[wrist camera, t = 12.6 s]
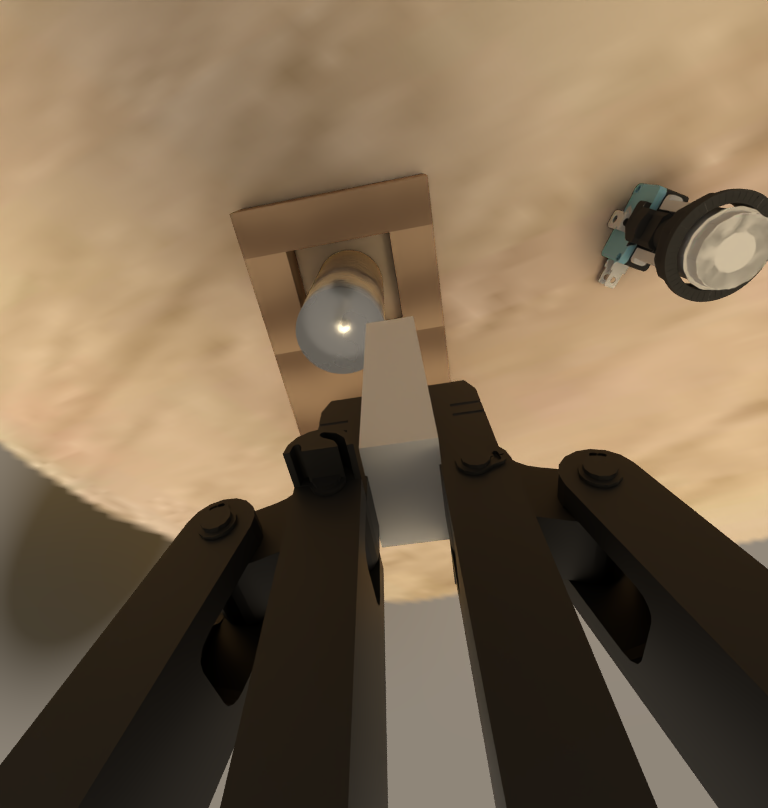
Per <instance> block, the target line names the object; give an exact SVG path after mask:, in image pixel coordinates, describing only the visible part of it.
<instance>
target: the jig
mask: <svg viewBox="0 0 768 808" xmlns="http://www.w3.org/2000/svg"><path fill="white" fill-rule="evenodd" d="M230 217H231V220H232V223H233V226H234V229H235V233H236V236H237V239H238V242H239V245H240V248H241V251H242V254H243V257H244V261H245V264H246V267H247V270H248V273H249V276H250V279H251V282H252V285H253V289H254V292H255V295H256V298H257V301H258V304H259V307H260V310H261V313H262V317H263V320H264V323H265V326H266V329H267V332H268V335H269V338H270V341H271V345H272V348H273V351H274V354H275V357H276V360H277V363H278V366H279V369H280V373H281V376H282V379H283V382H284V385H285V388H286V391H287V394H288V397H289V401H290V404H291V407H292V410H293V413H294V416H295V419H296V422H297V425H298V429H299V432H300V435H301V436H302V435H304V434H306V433H308V432H311V431H315V430H318V427H319V422H320V417H321V412H322V411H323V410H324V409H325V408H326V407H327V405H328V404H329V403H330V402H331V401H335V400H342V399H348V398H355V397H362V385H363V369H362V370H360V371H357V372H354V373H349V374H336V373H331V372H327V371H325V370H322V369H320V368H318V367H317V366H315V365H314V364H313V363H311V362H310V361H309V360H308V359H307V358H306V357H305V355H304V354H303V352H302V351H301V349H300V347H299V345H298V342H297V338H296V321H297V317H298V315H299V312H300V310H301V308H302V306H303V304H304V302H305V300H306V294H305V290H304V286H303V283H302V279H301V275H300V271H299V267H298V264H297V260H296V256H295V252H294V250H298V249H303V248H309V247H314V246H319V245H325V244H330V243H335V242H340V241H346V240H351V239H356V238H362V237H367V236H372V235H378V234H383V233H388V232H389V234H390V240H391V247H392V253H393V259H394V265H395V272H396V278H397V284H398V291H399V297H400V303H401V309H402V316H403V318H404V317H410V316H413V318H414V323H415V327H416V332H417V337H418V342H419V347H420V352H421V356H422V361H423V366H424V371H425V376H426V381H427V386H428V385H434V384H441V383H448V382H451V381H450V372H449V364H448V355H447V346H446V337H445V328H444V319H443V310H442V301H441V292H440V283H439V275H438V266H437V257H436V248H435V239H434V230H433V221H432V212H431V203H430V194H429V186H428V177H427V175H425V174H419V175H414V176H408V177H403V178H398V179H393V180H388V181H383V182H378V183H373V184H368V185H363V186H358V187H353V188H348V189H342V190H337V191H332V192H327V193H322V194H317V195H312V196H307V197H302V198H297V199H292V200H287V201H281V202H276V203H271V204H266V205H261V206H256V207H251V208H246V209H241V210H238V211H236V212H233V213H231V214H230Z"/></svg>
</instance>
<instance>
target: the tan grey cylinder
mask: <svg viewBox="0 0 768 808" xmlns="http://www.w3.org/2000/svg"><path fill="white" fill-rule="evenodd" d="M379 321H385V312H384V294H383V279H382V274H381V272H380V269H379V267H378V266H377V264H376V263H375V262H374V261H373V260H372V259H371V258H370V257H369V256H367V255H366V254H364V253H362V252H359V251H354V250H345V251H340V252H337V253H335V254H333V255H332V256H330V257H329V258H328V259H327V260H326V261H325V262H324V264H323V265H322V267H321V269H320V271H319V273H318V275H317V277H316V279H315V281H314V283H313V285H312V288H311V290H310V292H309V294H308V296H307V298H306V300H305V302H304V304H303V306H302V308H301V310H300V312H299V315H298V317H297V321H296V338H297V342H298V345H299V347H300V349H301V351H302V352H303V354H304V355H305V357H306V358H307V359H308V360H309V361H310V362H311V363H313V364H314V365H315V366H317V367H318V368H320V369H322V370H325V371H327V372H331V373H336V374H349V373H354V372H357V371H360V370H362V369H363V368H364V351H365V333H366V323H372V322H379Z"/></svg>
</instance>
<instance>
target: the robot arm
mask: <svg viewBox="0 0 768 808" xmlns="http://www.w3.org/2000/svg"><path fill="white" fill-rule="evenodd" d="M283 456H284V459H285V462H286V464H287V467H288V470H289V473H290V476H291V479H292V482H293V484H294V487H295V488H294V492H293V495H291V496H290V497H288V498H287V499H285V500H283V501H281V502H278V503H276V504H273V505H271V506H268V507H265V508H263V509H260V510H257V511H255V510H254V508H253V506H252V505H251V504H250V503H249V502H247V501H246V500H241V499H237V498H235V499H226V500H222V501H219V502H216V503H213V504H210V505H209V506H207V507H206V508H204V509H202V510H201V511H199V512H198V513H197V514H196V515H195V516H194V517H193V518H192V519H191V520H190V521H189V522H188V523H187V524H186V525H185V527H184V528H183V529H182V531H181V532H180V533H179V534H178V536H177V537H176V538H175V540H174V541H173V542H172V544H171V545H170V546H169V548H168V549H167V550H166V551H165V553H164V554H163V555H162V556H161V558H160V559H159V561H158V562H157V563H156V564H155V566H154V567H153V568H152V569H151V571H150V572H149V573H148V575H147V576H146V577H145V578H144V580H143V581H142V582H141V584H140V585H139V586H138V588H137V589H136V590H135V592H134V593H133V594H132V595H131V597H130V598H129V599H128V601H127V602H126V603H125V604H124V606H123V607H122V608H121V609H120V611H119V612H118V613H117V615H116V616H115V617H114V619H113V620H112V621H111V622H110V624H109V625H108V626H107V628H106V629H105V630H104V631H103V633H102V634H101V635H100V637H99V638H98V639H97V641H96V642H95V643H94V645H93V646H92V647H91V648H90V650H89V651H88V652H87V653H86V655H85V656H84V657H83V659H82V660H81V661H80V663H79V664H78V665H77V666H76V668H75V669H74V670H73V672H72V673H71V674H70V676H69V677H68V678H67V679H66V681H65V682H64V683H63V685H62V686H61V687H60V688H59V690H58V691H57V692H56V694H55V695H54V696H53V698H52V699H51V700H50V701H49V703H48V704H47V705H46V707H45V708H44V709H43V711H42V712H41V713H40V714H39V716H38V717H37V718H36V719H35V721H34V722H33V723H32V725H31V726H30V727H29V728H28V730H27V731H26V732H25V734H24V735H23V736H22V738H21V739H20V740H19V742H18V743H17V744H16V745H15V747H14V748H13V749H12V750H11V752H10V753H9V754H8V756H7V757H6V758H5V760H4V761H3V762H2V763H1V765H0V808H208V807H209V805H210V803H211V800H212V798H213V795H214V793H215V791H216V789H217V786H218V784H219V781H220V779H221V777H222V774H223V772H224V770H225V767H226V765H227V763H228V760H229V758H230V755H231V753H232V751H233V755H232V759H231V763H230V767H229V772H228V776H227V780H226V785H225V789H224V793H223V797H222V802H221V806H220V808H388V787H387V734H386V681H385V629H384V628H385V627H384V573H383V565H382V561H381V557H380V552H379V536H380V541H381V545H382V547H389V546H397V545H405V544H414V543H422V542H430V541H438V540H446V539H450V545H451V554H452V562H453V570H454V579H455V584H457V590H458V595H459V601H460V606H461V612H462V618H463V624H464V629H465V635H466V641H467V646H468V651H469V658H470V664H471V669H472V674H473V680H474V686H475V692H476V698H477V703H478V709H479V714H480V720H481V725H482V732H483V737H484V743H485V748H486V754H487V760H488V766H489V771H490V777H491V783H492V788H493V794H494V799H495V805H496V808H657V805H656V803H655V800H654V798H653V795H652V793H651V791H650V788H649V786H648V783H647V781H646V779H645V776H644V774H643V772H642V769H641V767H640V764H639V762H638V759H637V757H636V755H635V752H634V750H633V747H632V745H631V743H630V740H629V738H628V735H627V733H626V731H625V728H624V726H623V724H622V721H621V719H620V716H619V714H618V712H617V709H616V707H615V704H614V702H613V700H612V697H611V695H610V693H609V690H608V688H607V685H606V683H605V681H604V678H603V676H602V673H601V671H600V669H599V666H598V664H597V661H596V659H595V657H594V654H593V652H592V649H591V647H590V645H589V642H588V640H587V638H586V635H585V633H584V631H583V628H582V626H581V623H580V621H579V619H578V616H577V614H576V611H575V609H574V606H575V608H576V609H577V611H578V612H579V614H580V615H581V616H582V618H583V619H584V621H585V622H586V623H587V625H588V626H589V627H590V629H591V630H592V632H593V633H594V634H595V636H596V637H597V639H598V640H599V641H600V643H601V644H602V645H603V647H604V648H605V650H606V651H607V653H608V654H609V655H610V657H611V658H612V659H613V661H614V662H615V664H616V665H617V666H618V668H619V669H620V671H621V672H622V674H623V675H624V676H625V678H626V679H627V680H628V682H629V683H630V685H631V686H632V688H633V689H634V690H635V692H636V693H637V694H638V696H639V697H640V699H641V700H642V702H643V703H644V704H645V706H646V707H647V708H648V710H649V711H650V713H651V714H652V715H653V717H654V718H655V720H656V721H657V723H658V724H659V725H660V727H661V728H662V730H663V731H664V732H665V734H666V735H667V737H668V738H669V739H670V740H671V742H672V743H673V745H674V746H675V748H676V749H677V750H678V752H679V753H680V755H681V756H682V757H683V759H684V760H685V762H686V763H687V764H688V766H689V767H690V769H691V770H692V771H693V773H694V774H695V776H696V777H697V778H698V780H699V781H700V783H701V784H702V785H703V787H704V788H705V790H706V791H707V792H708V794H709V795H710V797H711V798H712V799H713V801H714V802H715V803H716V805H717V806H718V808H768V569H767V568H766V567H765V566H763V565H762V564H761V563H759V562H758V561H757V560H756V559H754V558H753V557H752V556H751V555H749V554H748V553H747V552H746V551H744V550H743V549H742V548H741V547H739V546H738V545H737V544H736V543H734V542H733V541H732V540H731V539H729V538H728V537H727V536H726V535H724V534H723V533H722V532H721V531H719V530H718V529H717V528H716V527H714V526H713V525H712V524H711V523H709V522H708V521H707V520H705V519H704V518H703V517H702V516H700V515H699V514H698V513H697V512H695V511H694V510H693V509H692V508H690V507H689V506H688V505H687V504H685V503H684V502H683V501H682V500H680V499H679V498H678V497H677V496H675V495H674V494H673V493H672V492H670V491H669V490H668V489H667V488H665V487H664V486H663V485H662V484H660V483H659V482H658V481H656V480H655V479H654V478H653V477H651V476H650V475H649V474H648V473H646V472H645V471H644V470H643V469H641V468H640V467H639V466H638V465H636V464H635V463H634V462H632V461H631V460H629V459H627V458H625V457H624V456H622V455H620V454H616V453H613V452H610V451H606V450H595V449H588V450H581V451H576V452H574V453H572V454H570V455H568V456H565V457H564V459H563V460H562V461H561V463H560V464H559V469H551V468H540V467H533V466H527V465H524V464H521V463H518V462H515V461H514V460H512V458H511V457H510V456H509V454H508V453H507V452H506V450H504V449H502V448H500V447H499V446H498V444H497V441H496V439H495V436H494V434H493V431H492V429H491V426H490V424H489V421H488V419H487V416H486V413H485V412H484V408H483V406H482V403H481V402H480V398H479V396H478V393H477V391H476V389H475V388H474V387H473V386H471V385H470V384H468V383H467V382H466V381H464V380H462V381H455V382H448V383H441V384H434V385H428V386H427V381H426V376H425V371H424V366H423V361H422V356H421V352H420V347H419V342H418V337H417V332H416V327H415V323H414V318H413V316H410V317H404V318H398V319H391V320H385V321H379V322H372V323H366V333H365V351H364V368H363V385H362V397H355V398H348V399H342V400H335V401H331V402H330V403H329V404H328V405H327V407H326V408H325V409H324V410H323V411H322V412H321V417H320V422H319V427H318V430H315V431H311V432H308V433H306V434H304V435H302V436H300V437H298V438H296V439H295V440H294V441H293V442H291V443H290V444H289V445H288V446H287V448H286V449H285V451H284V453H283ZM573 605H574V606H573ZM233 749H234V750H233Z"/></svg>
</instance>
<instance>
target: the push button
mask: <svg viewBox="0 0 768 808" xmlns="http://www.w3.org/2000/svg"><path fill="white" fill-rule="evenodd" d="M688 200H689V198H688V197H687V196H685V195H682V194H679V193H677V192H674V191H672V190H669V189H667V188H664V187H662V186H659V185H651V184H643V183H640V184H638V185H637V187H636V188H635V190H634V192H633V195H632V196H631V198H630V200H629V202H628V204H627V206H626V208H625V209H624V211H620V210H616V211H615V212H614V213H613V215H612V217H611V219H610V221H609V223H608V227H610V228H614V230H613V232H612V234H611V236H610V237H609V239H608V241H607V243H606V245H605V247H604V249H603V251H602V256H604V257H607V258H608V260H607V262H606V263H605V265H604V267H606V268H605V269H604V271H603V273H602V275H601V277H600V278H599V280H598V282H599V283H602V284H604V286H607V287H610V288H612V289H613V288H615V286H616V284H617V283H618V281H619V279H620V277H621V276H622V274H625V273H626V271H627V269H628V267H629V266H630V267H632V268H635V269H638V270H641V271H646V270H647V269H648V268H649V266H650V265H653V266H655V267H656V270H657V274H658V276H659V277H660V278H662V279H663V280H664V281H665V283H666V284H667V286H668V287H669V288H670V290H671V291H673V292H674V293H675V294H677V295H678V296H680V297H682V298H685V299H687V300H690V301H696V302H707V301H713V300H717V299H720V298H723V297H726V296H728V295H730V294H732V293H734V292H736V291H737V290H739V289H741V288H742V287H743V286H745V285H746V284H747V283H748V282H750V281H751V280H752V279H753V278H754V277H755V276H756V275H757V274H758V273H759V271H760V270H761V269H762V268H763V266H764V265H765V264H766V262H767V261H768V198H767V197H766V196H764V195H763V194H761V193H759V192H756V191H753V190H748V189H727V190H723V191H720V192H717V193H709V194H707V195H705V196H703V197H701V198H699V199H698V200H696V201H694V202H692V203H688ZM725 204H732V205H733V206H734V207H732V208H720V207H719V206H722V205H725ZM616 216H618V217H617V220H616V221H615V222H614V223H613V220H614V218H615V217H616ZM606 274H609V276H608V278H607V280H604V276H605V275H606ZM680 276H681V277H683V278H686V279H688V281H689V282H690V283H684V282H683V281H682V279H681V278H680ZM612 277H615V281H614V282H613V283H610V281H611V279H612Z"/></svg>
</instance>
